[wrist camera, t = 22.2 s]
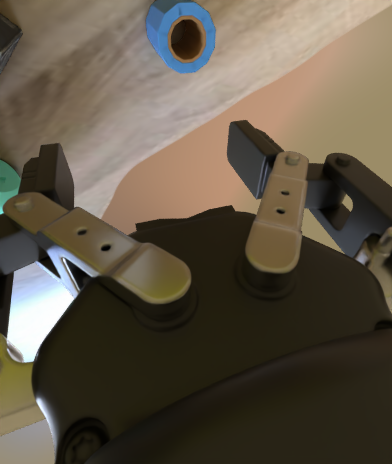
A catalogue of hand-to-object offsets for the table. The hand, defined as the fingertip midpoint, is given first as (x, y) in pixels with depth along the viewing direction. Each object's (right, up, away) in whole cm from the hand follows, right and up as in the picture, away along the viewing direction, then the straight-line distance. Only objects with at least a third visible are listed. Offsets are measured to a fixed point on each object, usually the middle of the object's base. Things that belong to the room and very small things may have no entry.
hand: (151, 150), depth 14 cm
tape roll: (-1, +21, +20) cm, 29 cm away
